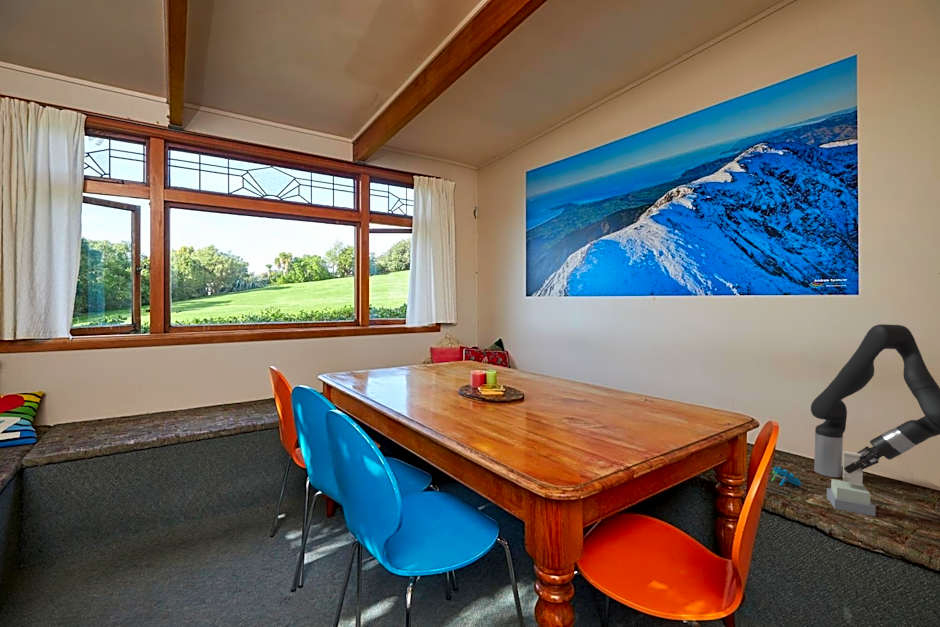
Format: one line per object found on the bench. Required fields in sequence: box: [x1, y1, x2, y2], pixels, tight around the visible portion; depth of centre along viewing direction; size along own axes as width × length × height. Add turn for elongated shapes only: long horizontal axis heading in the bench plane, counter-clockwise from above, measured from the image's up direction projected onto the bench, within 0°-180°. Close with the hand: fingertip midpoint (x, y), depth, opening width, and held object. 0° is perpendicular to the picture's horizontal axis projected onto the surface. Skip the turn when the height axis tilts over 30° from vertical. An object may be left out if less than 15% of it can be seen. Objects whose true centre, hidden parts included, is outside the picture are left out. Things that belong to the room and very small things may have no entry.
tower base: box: [826, 487, 877, 517], centre depth 154 cm, size 11×11×4 cm
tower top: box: [830, 478, 871, 505], centre depth 154 cm, size 9×9×4 cm
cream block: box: [842, 450, 864, 485], centre depth 154 cm, size 5×5×10 cm
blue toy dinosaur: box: [770, 466, 802, 487], centre depth 172 cm, size 11×6×10 cm
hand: (845, 468), depth 155 cm, fingers closed on cream block, 5 cm apart
